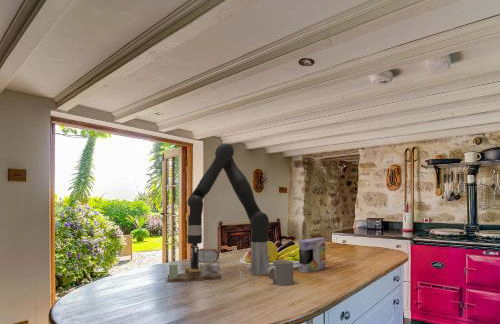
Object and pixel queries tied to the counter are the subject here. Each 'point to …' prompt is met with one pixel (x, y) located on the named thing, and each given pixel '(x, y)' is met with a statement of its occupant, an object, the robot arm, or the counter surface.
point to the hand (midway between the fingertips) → (194, 266)
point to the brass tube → (193, 270)
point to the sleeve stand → (200, 274)
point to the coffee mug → (281, 272)
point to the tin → (208, 255)
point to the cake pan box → (311, 255)
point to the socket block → (173, 270)
